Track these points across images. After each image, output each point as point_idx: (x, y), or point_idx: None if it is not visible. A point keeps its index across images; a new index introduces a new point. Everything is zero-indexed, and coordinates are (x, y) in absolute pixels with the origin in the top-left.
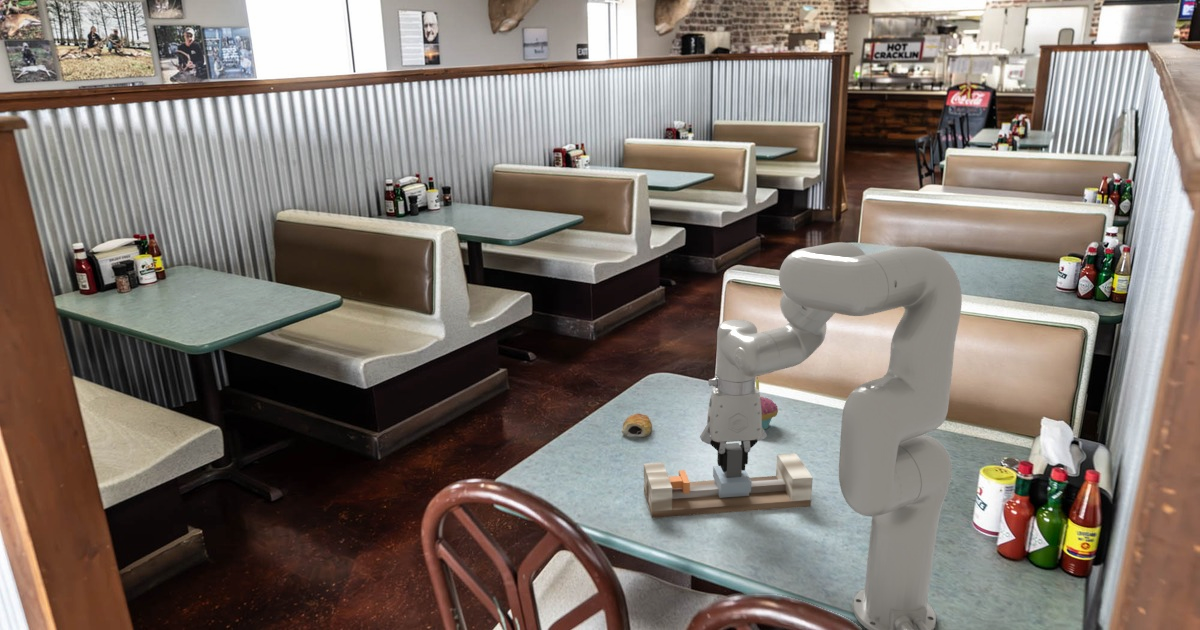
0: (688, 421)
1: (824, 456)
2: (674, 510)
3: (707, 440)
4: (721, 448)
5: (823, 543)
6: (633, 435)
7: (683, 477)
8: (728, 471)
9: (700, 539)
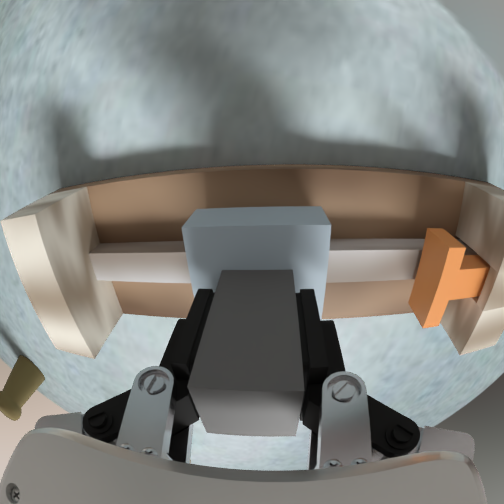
0: (275, 453)
1: (63, 352)
2: (458, 180)
3: (440, 446)
4: (351, 407)
5: (70, 30)
6: None
7: (450, 284)
8: (286, 288)
9: (405, 47)
